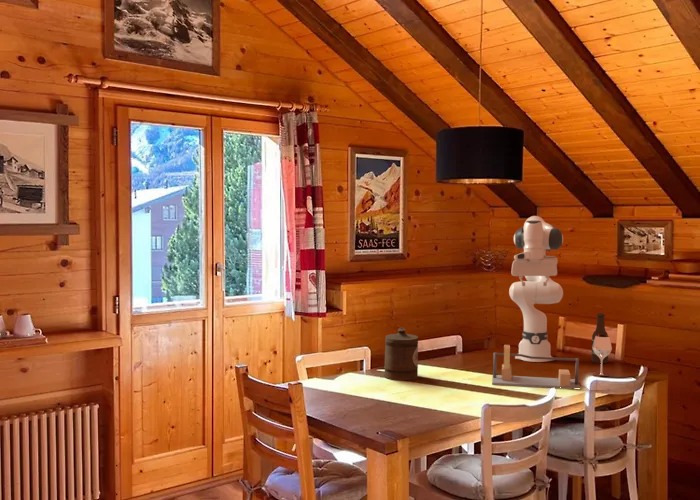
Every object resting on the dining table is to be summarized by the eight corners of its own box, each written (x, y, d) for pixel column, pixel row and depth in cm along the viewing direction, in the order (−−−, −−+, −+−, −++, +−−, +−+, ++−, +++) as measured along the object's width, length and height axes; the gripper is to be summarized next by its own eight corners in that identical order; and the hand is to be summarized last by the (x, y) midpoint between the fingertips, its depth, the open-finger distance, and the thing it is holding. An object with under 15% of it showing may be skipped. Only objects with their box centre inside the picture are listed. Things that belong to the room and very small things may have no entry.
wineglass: (590, 376, 319) (591, 336, 318) (593, 372, 326) (594, 333, 325) (609, 378, 315) (610, 338, 314) (612, 374, 322) (613, 335, 321)
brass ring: (503, 364, 314) (504, 344, 314) (509, 365, 314) (509, 344, 313) (503, 368, 307) (504, 348, 306) (509, 369, 306) (509, 348, 306)
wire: (495, 354, 312) (495, 352, 312) (576, 358, 305) (576, 356, 304) (495, 357, 307) (495, 355, 307) (577, 360, 300) (577, 359, 300)
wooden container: (422, 379, 312) (423, 329, 311) (391, 381, 308) (391, 331, 307) (410, 371, 327) (411, 324, 325) (380, 373, 322) (380, 325, 321)
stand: (492, 377, 317) (493, 350, 316) (576, 381, 309) (577, 354, 309) (492, 384, 303) (492, 357, 302) (580, 389, 296) (580, 361, 295)
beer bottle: (587, 361, 350) (589, 312, 349) (599, 359, 353) (601, 311, 352) (599, 364, 343) (600, 315, 342) (611, 363, 346) (612, 314, 345)
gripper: (556, 255, 324) (557, 286, 323) (510, 256, 328) (511, 286, 327) (558, 255, 318) (558, 286, 317) (511, 255, 321) (511, 286, 321)
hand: (534, 286), depth 322 cm, fingers open, 8 cm apart
